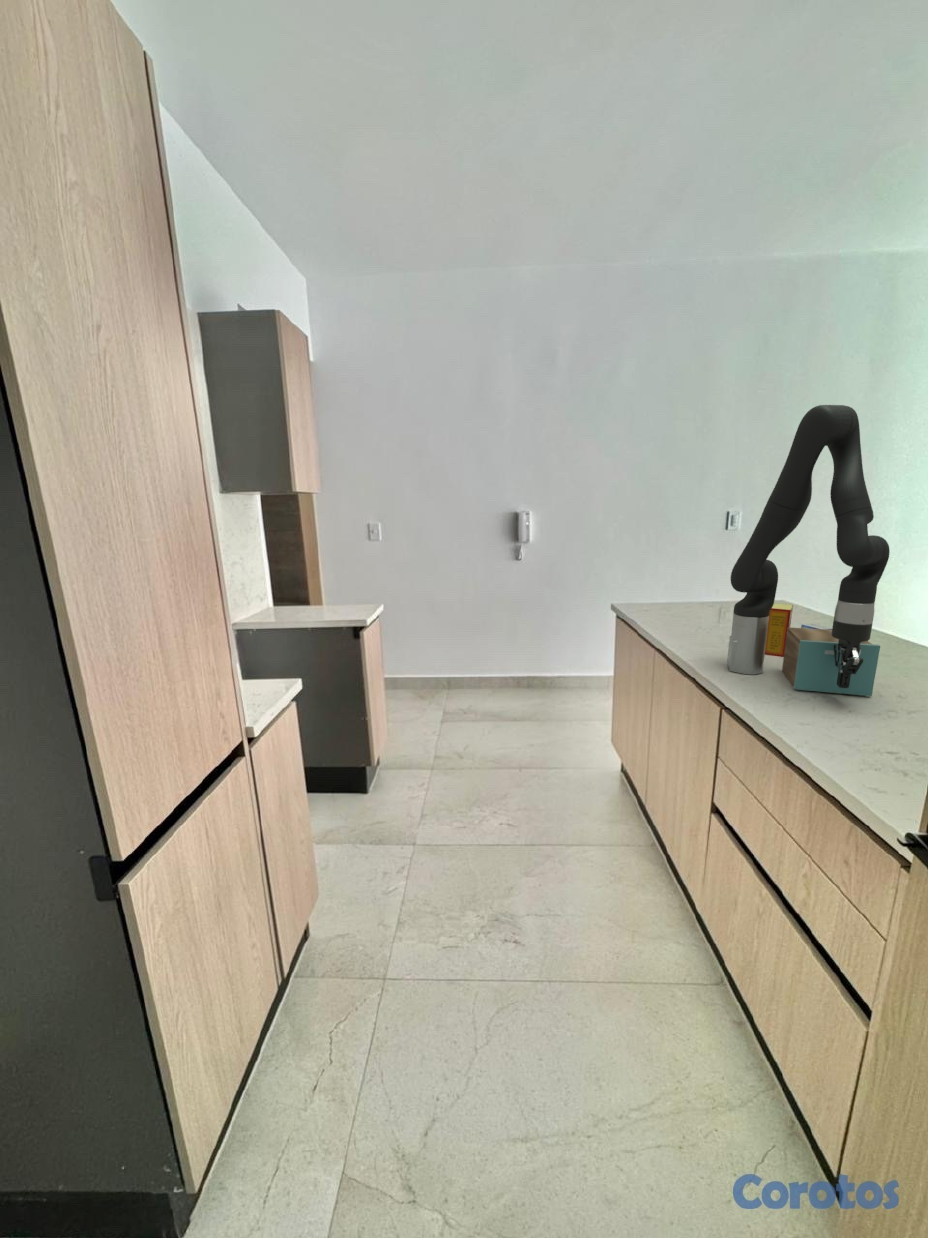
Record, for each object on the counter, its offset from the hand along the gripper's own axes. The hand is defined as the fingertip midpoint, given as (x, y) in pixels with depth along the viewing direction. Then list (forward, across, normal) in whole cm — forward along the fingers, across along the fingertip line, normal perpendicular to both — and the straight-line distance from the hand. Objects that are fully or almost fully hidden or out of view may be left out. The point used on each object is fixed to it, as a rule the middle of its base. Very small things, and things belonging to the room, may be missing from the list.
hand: (842, 686), depth 126 cm
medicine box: (+5, +48, -6) cm, 48 cm away
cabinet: (+4, +16, 0) cm, 16 cm away
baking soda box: (+5, +44, +6) cm, 44 cm away
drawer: (+4, +13, 0) cm, 14 cm away
